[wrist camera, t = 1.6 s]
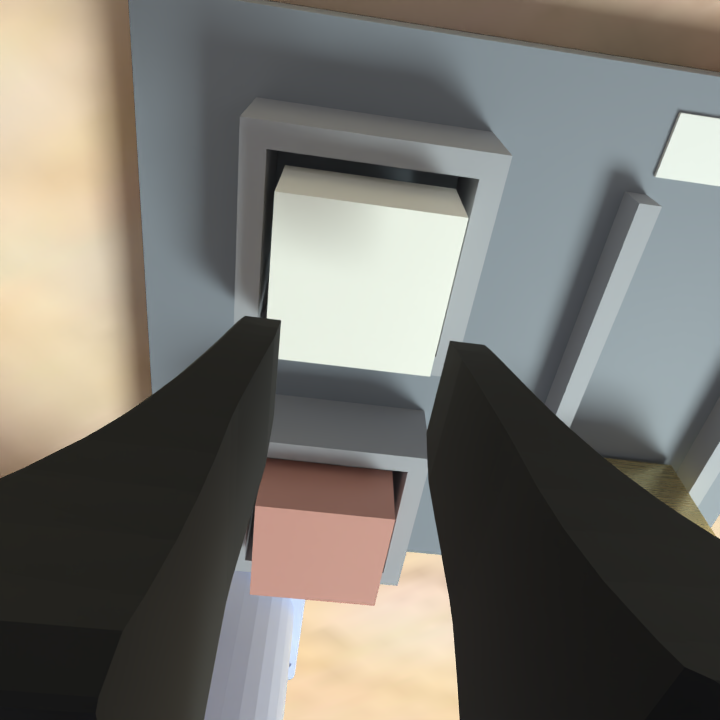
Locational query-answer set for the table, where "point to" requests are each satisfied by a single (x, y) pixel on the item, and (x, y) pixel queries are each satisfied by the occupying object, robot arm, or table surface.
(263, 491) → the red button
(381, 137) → the panel
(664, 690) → the robot arm
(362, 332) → the cream button
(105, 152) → the table surface
